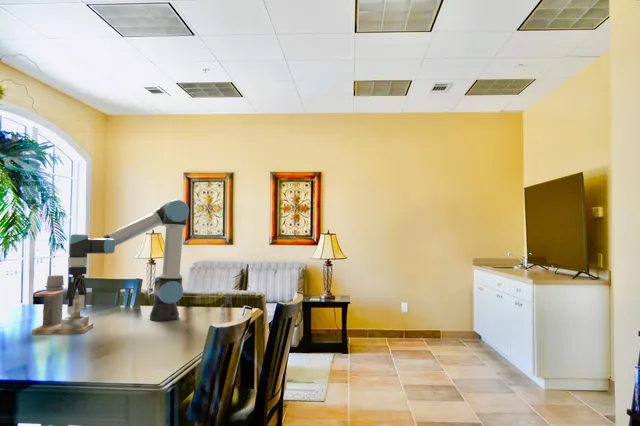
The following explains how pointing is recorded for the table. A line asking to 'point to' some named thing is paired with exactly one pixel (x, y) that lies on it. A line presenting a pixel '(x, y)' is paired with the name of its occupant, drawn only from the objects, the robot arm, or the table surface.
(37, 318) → the table surface
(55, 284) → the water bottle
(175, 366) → the table surface
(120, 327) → the table surface
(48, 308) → the socket station
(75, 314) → the peg
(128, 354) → the table surface
